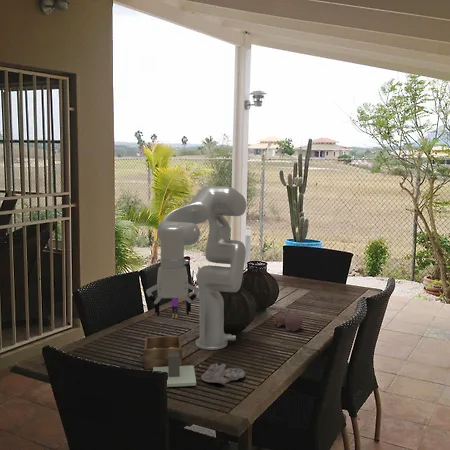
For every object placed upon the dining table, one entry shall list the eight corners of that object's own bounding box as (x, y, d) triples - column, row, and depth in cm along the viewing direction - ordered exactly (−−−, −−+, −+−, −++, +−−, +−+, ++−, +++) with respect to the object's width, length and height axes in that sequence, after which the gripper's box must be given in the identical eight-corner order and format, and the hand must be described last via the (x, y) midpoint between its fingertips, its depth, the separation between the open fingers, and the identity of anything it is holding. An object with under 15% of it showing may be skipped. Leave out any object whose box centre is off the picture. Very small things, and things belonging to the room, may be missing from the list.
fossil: (243, 370, 187) (201, 374, 187) (242, 360, 187) (200, 364, 187) (247, 385, 170) (201, 389, 170) (246, 374, 170) (200, 378, 170)
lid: (193, 368, 185) (193, 346, 183) (196, 385, 171) (196, 361, 170) (153, 369, 183) (152, 347, 182) (152, 387, 169) (152, 363, 168)
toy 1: (163, 317, 243) (162, 285, 241) (168, 314, 249) (168, 282, 247) (183, 320, 240) (183, 287, 238) (188, 316, 245) (188, 285, 243)
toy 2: (275, 332, 234) (300, 336, 222) (267, 319, 232) (291, 322, 220) (286, 319, 238) (310, 323, 227) (278, 306, 236) (302, 309, 224)
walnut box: (180, 353, 199) (180, 335, 198) (181, 367, 187) (181, 348, 186) (145, 355, 198) (145, 337, 197) (144, 369, 185) (144, 349, 184)
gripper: (198, 260, 177) (198, 309, 180) (145, 261, 175) (146, 311, 177) (199, 265, 170) (200, 316, 172) (145, 266, 168) (146, 318, 170)
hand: (172, 314), depth 175 cm, fingers open, 9 cm apart
